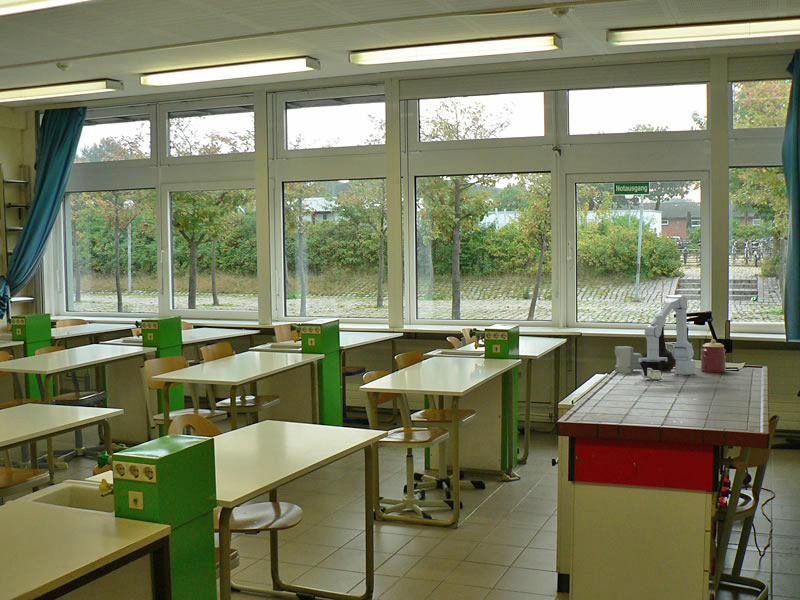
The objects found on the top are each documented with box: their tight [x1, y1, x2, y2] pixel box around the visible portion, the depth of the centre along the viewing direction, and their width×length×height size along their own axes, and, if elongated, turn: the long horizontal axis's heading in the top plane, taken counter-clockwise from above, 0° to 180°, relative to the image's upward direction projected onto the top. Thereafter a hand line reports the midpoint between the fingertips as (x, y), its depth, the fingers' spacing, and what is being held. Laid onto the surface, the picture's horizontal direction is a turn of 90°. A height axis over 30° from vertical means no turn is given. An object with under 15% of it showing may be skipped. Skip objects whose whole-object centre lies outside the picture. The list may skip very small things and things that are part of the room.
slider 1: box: [641, 368, 653, 378], centre depth 422 cm, size 4×4×4 cm
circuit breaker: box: [614, 345, 643, 374], centre depth 441 cm, size 8×14×15 cm, turn 89°
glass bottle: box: [642, 324, 676, 372], centre depth 449 cm, size 18×18×28 cm
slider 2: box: [650, 370, 662, 380], centre depth 414 cm, size 4×4×4 cm
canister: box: [700, 338, 727, 373], centre depth 449 cm, size 13×13×18 cm
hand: (652, 375), depth 413 cm, fingers open, 7 cm apart
